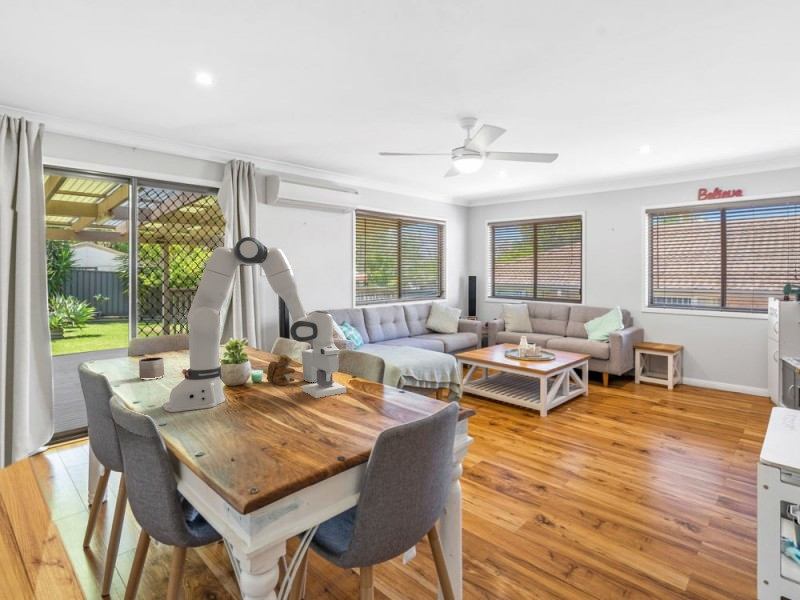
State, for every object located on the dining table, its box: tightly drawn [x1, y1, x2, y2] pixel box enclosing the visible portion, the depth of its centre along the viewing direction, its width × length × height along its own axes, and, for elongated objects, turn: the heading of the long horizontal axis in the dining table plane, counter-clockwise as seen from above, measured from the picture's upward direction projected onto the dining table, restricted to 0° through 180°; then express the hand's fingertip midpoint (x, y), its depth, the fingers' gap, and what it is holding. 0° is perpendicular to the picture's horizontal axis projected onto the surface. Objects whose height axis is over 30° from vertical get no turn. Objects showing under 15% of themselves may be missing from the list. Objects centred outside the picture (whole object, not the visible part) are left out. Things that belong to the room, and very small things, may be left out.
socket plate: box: [302, 379, 347, 399], centre depth 193 cm, size 14×14×3 cm
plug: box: [316, 370, 333, 386], centre depth 193 cm, size 5×5×8 cm
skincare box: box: [301, 348, 317, 384], centre depth 213 cm, size 8×6×15 cm
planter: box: [138, 356, 165, 379], centre depth 223 cm, size 11×11×10 cm
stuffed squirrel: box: [265, 354, 296, 387], centre depth 210 cm, size 10×14×13 cm
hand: (324, 379), depth 193 cm, fingers closed on plug, 5 cm apart
